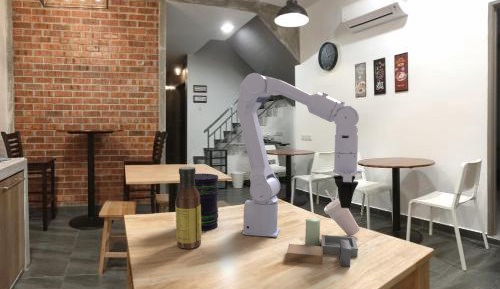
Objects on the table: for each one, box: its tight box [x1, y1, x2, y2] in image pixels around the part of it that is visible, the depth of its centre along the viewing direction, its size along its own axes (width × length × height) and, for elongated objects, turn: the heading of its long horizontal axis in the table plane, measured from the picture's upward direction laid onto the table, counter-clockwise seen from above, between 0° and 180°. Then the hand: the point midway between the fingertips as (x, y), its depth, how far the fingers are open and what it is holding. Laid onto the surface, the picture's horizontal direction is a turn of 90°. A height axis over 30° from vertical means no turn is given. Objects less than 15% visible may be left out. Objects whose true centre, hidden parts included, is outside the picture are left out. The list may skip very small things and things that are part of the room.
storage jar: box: [195, 173, 219, 232], centre depth 107 cm, size 10×10×15 cm
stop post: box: [339, 239, 352, 268], centre depth 83 cm, size 2×6×4 cm, turn 169°
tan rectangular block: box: [286, 243, 324, 265], centre depth 85 cm, size 8×6×2 cm
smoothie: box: [323, 189, 360, 237], centre depth 101 cm, size 6×6×14 cm
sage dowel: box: [304, 217, 321, 246], centre depth 93 cm, size 4×4×6 cm
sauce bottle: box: [174, 166, 202, 250], centre depth 91 cm, size 6×6×20 cm
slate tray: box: [320, 234, 359, 257], centre depth 91 cm, size 8×8×2 cm
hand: (344, 204), depth 95 cm, fingers open, 6 cm apart
